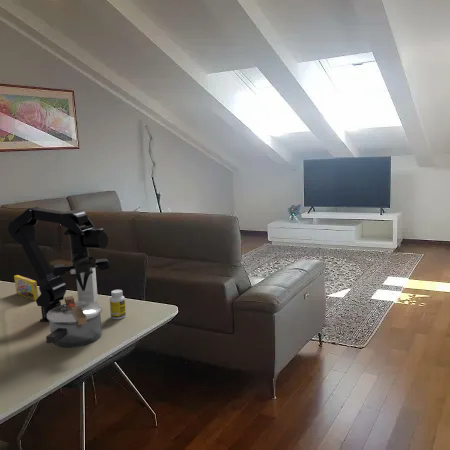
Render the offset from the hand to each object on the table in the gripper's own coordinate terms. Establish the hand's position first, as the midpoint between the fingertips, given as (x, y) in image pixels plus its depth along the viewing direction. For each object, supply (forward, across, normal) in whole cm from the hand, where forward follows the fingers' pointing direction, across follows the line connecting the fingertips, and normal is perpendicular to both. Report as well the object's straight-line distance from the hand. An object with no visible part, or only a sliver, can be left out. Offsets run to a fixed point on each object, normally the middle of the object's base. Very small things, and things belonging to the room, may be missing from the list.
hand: (83, 290), depth 165 cm
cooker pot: (+12, -5, -13) cm, 18 cm away
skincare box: (+12, +3, +22) cm, 26 cm away
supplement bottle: (+12, +12, +1) cm, 17 cm away
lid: (+4, -4, -13) cm, 14 cm away
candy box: (+12, -20, +43) cm, 49 cm away
